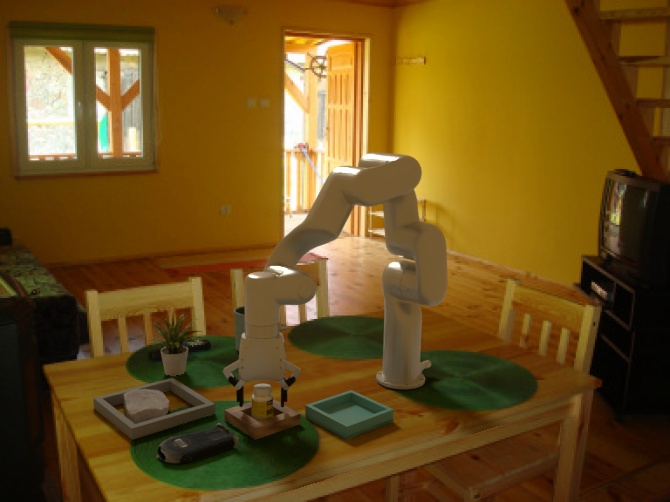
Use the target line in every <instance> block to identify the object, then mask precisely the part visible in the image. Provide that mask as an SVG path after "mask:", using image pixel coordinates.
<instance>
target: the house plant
mask: <svg viewBox="0 0 670 502" xmlns="http://www.w3.org/2000/svg"><path fill="white" fill-rule="evenodd" d="M184 315H185V312H184V313H182V314H180V316H179V317H178V318H177V321H176V323H175V311H173V312H172V315H171V323H170V320H168V319H167V317H165V316H163V317H164V320H162V319H160V318H159V320H160V321H162V322H163V323H164V324H165V327H166V329H167V330H165V329H164V327H163V326H162V325H161V324H160V323H159V322H158V321H156V320H154V321H151V325H153V326H155V328H157V329H158V330H159V331H158V332H157V333H158V334H159V335H160V336H161V337H163V339H165V341H166V342H163V341H162V339H161V340H160V339H158V338H154V339H153V340H152V341H151V344H153V345H152V347H153V346H155V345H157V344H164V347H163V348H161V349H160V355H161V360H162V364H163V370H164V375H166V376H168V375H170V376H169V377H177V376H176V375H180V376H182V375H181V374H183V373H184V372H185V373H186V368H187V360H188V354H189V348H188V347H187V346H184V344H185V343H195V344H197V343H196V341H195V340H197V341H200V339H199V338H198V337H197V336H194V335H193V336H190V335H191V334H195V333H202V332H204V331H202V330H190V329H192V328H191V327H194V326H196V325H194V324H192V323H193V322H194V321H195V322H196V321H197V320H198V318H195V319H192V320H191V321H190V322H189V323H187V324H186V326H184V327H183V328H181V327H182V325H183V322H184V319H185V318H186V317H187V316H188V313H187V314H186V315H185V316H184ZM156 319H157V320H158V318H156ZM164 321H165V322H164ZM145 325H149V323H148V322H147V323H145ZM194 339H195V340H194ZM185 373H184V374H185ZM184 374H183V375H184Z"/></svg>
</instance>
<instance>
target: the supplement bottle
mask: <svg viewBox="0 0 670 502" xmlns="http://www.w3.org/2000/svg"><path fill="white" fill-rule="evenodd" d="M252 393H253V394H252V395H251V402H252V418H253V419H255V420H257V421H261V420H264V419H267V418H270V417H273V399H274V396H273V394H272V393H273V390H272V386H271V384H268V383H258V384H255V385H254V386H253V390H252Z"/></svg>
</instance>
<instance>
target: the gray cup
mask: <svg viewBox="0 0 670 502" xmlns="http://www.w3.org/2000/svg"><path fill="white" fill-rule="evenodd" d="M233 317H234V324H233V325H234V332H235V333H234V334H235V335H234V336H235V340H234V341H235V343H234V344H235V350H236V349H237V350H238V351H239V350H240V341H241V336H242V334H243V333H245V305H240V306H238V307H235V308H234V309H233Z"/></svg>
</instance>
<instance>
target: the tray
mask: <svg viewBox="0 0 670 502" xmlns="http://www.w3.org/2000/svg"><path fill="white" fill-rule="evenodd" d="M304 408H305V410H304V411H305V416H304V418H306V419H307V420H309V421H311V422H313V423H315V425H316V424H317V426H320V427H322V428H324V429H325V430H327V431H329V432H331V433H333V434H334V435H336V436H339V437H340V438H342V439H344V440H346V441H348V440H350V439H353V438H356V437H358V436H361V435H363V434H366V433H367V432H368V433H369V432H371V431H374V430H376V429H379V428H381V427H384V426H386V425H389V424H391V423H393V422H394V409H393V408H391V407H389V406H387V405H385V404H382V403H380V402H378V401H376V400H374V399H372V398H370V397H367V396H366V395H363V394H361V393H359V392H356V391H354V390H352V389H350V390H348V391H344V392H341V393H338V394H336V395H333V396H332V395H331V396H330V397H326V398H324V399H320V400H317V401H314V402H310V403H308V404H305V406H304Z"/></svg>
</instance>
